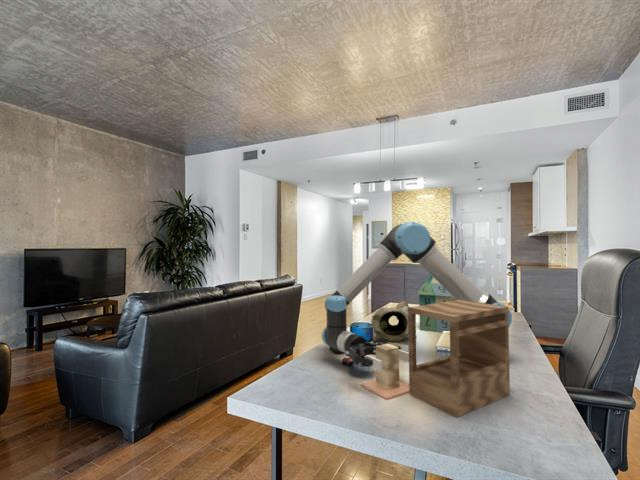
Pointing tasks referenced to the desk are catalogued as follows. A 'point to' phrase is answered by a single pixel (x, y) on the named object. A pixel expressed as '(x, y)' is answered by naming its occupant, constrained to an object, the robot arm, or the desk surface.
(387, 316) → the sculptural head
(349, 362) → the sign
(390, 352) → the beech block
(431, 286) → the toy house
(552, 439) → the desk surface
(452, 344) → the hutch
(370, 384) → the terracotta tile
